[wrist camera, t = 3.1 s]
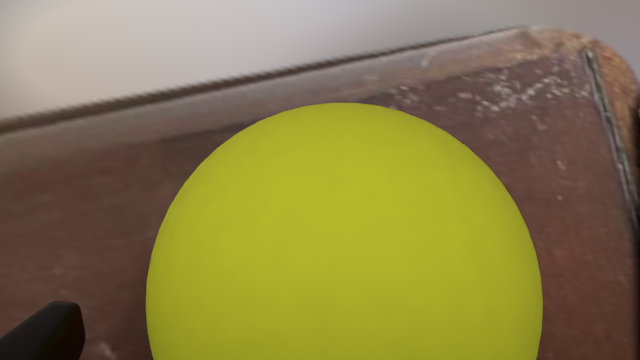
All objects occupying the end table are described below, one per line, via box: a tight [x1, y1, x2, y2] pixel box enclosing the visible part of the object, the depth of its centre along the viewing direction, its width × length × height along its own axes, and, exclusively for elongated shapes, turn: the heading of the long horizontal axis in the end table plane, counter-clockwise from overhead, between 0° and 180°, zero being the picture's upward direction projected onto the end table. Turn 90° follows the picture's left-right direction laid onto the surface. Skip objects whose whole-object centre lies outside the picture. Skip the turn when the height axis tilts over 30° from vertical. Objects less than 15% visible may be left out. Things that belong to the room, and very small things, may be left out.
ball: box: [146, 103, 543, 360], centre depth 10 cm, size 7×7×7 cm
